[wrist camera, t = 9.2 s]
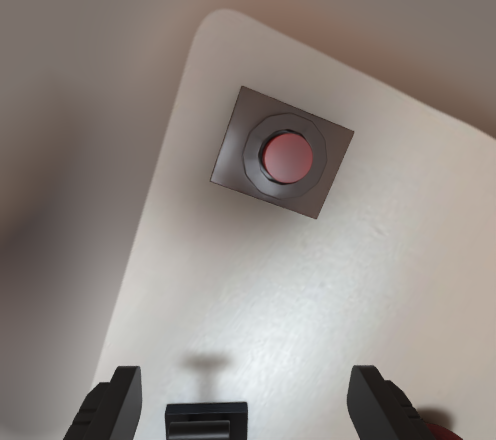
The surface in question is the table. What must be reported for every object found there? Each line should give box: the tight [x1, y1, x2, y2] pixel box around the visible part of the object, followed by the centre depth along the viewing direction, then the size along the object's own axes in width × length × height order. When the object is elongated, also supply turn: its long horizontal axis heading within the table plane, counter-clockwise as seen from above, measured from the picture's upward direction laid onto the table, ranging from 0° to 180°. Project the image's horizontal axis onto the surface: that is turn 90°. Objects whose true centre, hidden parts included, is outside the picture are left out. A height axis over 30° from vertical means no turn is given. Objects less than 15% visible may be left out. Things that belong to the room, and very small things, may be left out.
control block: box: [210, 86, 354, 219], centre depth 25 cm, size 10×8×4 cm
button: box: [262, 133, 313, 183], centre depth 23 cm, size 4×4×2 cm
